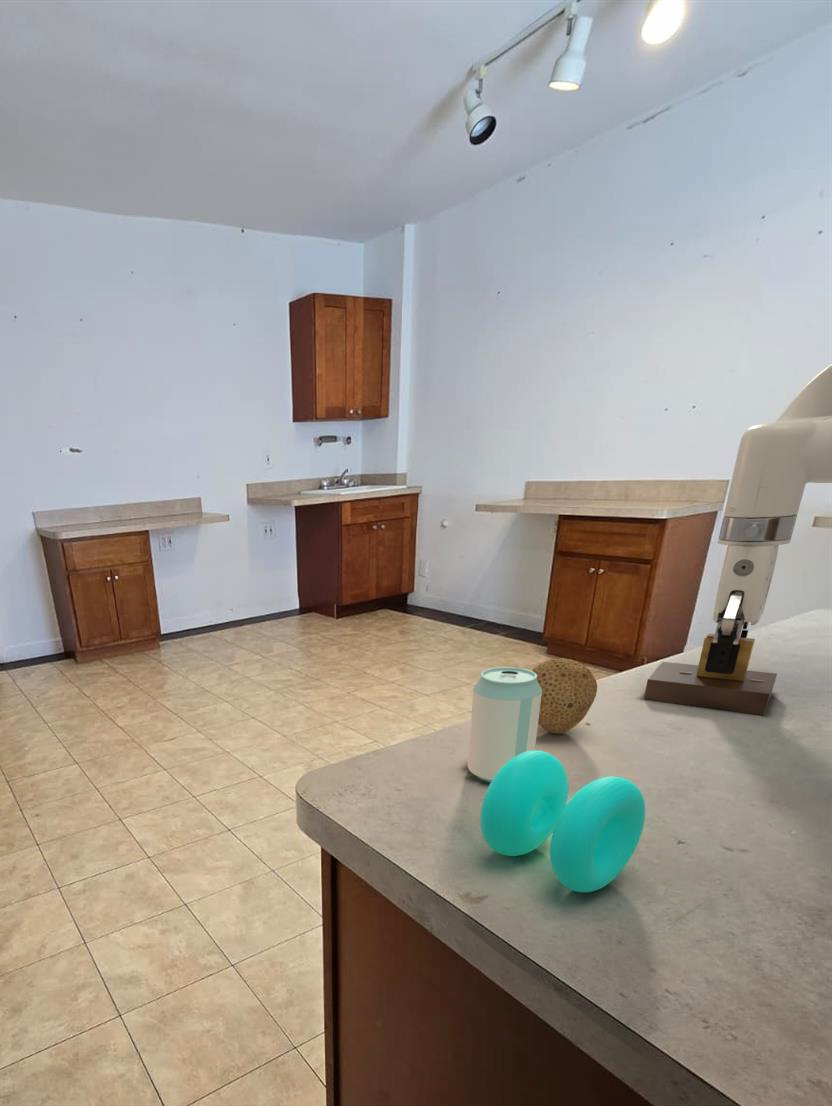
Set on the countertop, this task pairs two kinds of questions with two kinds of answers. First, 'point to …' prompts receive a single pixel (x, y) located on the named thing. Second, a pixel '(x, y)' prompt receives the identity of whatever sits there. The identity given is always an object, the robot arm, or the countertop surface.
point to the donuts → (563, 819)
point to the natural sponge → (564, 693)
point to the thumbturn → (740, 663)
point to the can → (502, 719)
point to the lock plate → (710, 689)
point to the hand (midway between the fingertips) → (723, 663)
